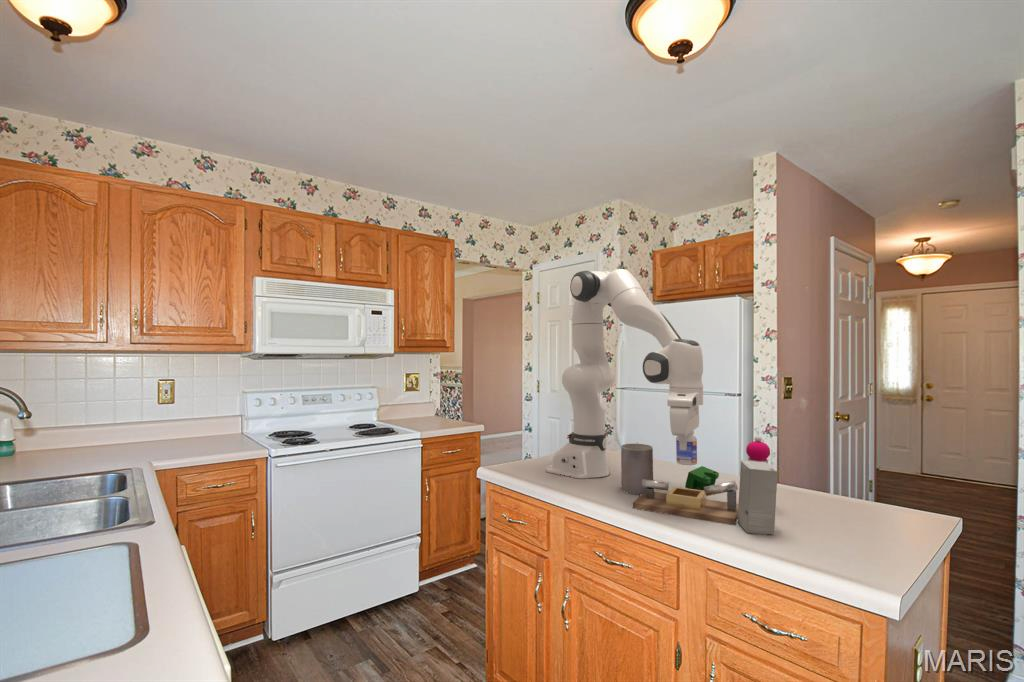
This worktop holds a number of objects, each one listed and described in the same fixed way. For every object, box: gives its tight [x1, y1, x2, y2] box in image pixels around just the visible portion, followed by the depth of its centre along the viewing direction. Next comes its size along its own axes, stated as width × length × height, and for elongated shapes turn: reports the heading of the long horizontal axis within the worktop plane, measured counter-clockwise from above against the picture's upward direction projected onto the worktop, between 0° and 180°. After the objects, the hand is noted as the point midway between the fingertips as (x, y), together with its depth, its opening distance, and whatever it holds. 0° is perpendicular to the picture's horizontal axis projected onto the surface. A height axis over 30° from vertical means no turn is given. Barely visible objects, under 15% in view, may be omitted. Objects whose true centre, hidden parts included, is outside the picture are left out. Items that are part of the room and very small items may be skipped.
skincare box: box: [737, 459, 778, 536], centre depth 122 cm, size 8×7×16 cm
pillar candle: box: [620, 442, 654, 495], centre depth 155 cm, size 10×10×15 cm
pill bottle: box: [675, 429, 698, 466], centre depth 138 cm, size 5×5×10 cm
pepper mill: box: [745, 435, 771, 464], centre depth 138 cm, size 7×7×20 cm
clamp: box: [684, 465, 720, 491], centre depth 158 cm, size 12×6×9 cm, turn 132°
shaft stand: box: [631, 479, 739, 526], centre depth 137 cm, size 26×14×9 cm, turn 60°
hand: (686, 447), depth 138 cm, fingers closed on pill bottle, 5 cm apart
